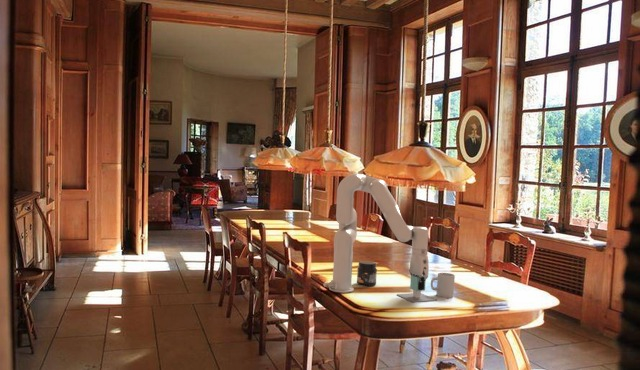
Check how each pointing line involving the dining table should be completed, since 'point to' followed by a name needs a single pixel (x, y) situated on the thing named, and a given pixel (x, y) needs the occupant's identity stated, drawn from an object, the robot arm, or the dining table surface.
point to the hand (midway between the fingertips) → (417, 288)
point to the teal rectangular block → (415, 283)
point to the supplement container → (366, 273)
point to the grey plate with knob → (416, 297)
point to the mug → (444, 285)
